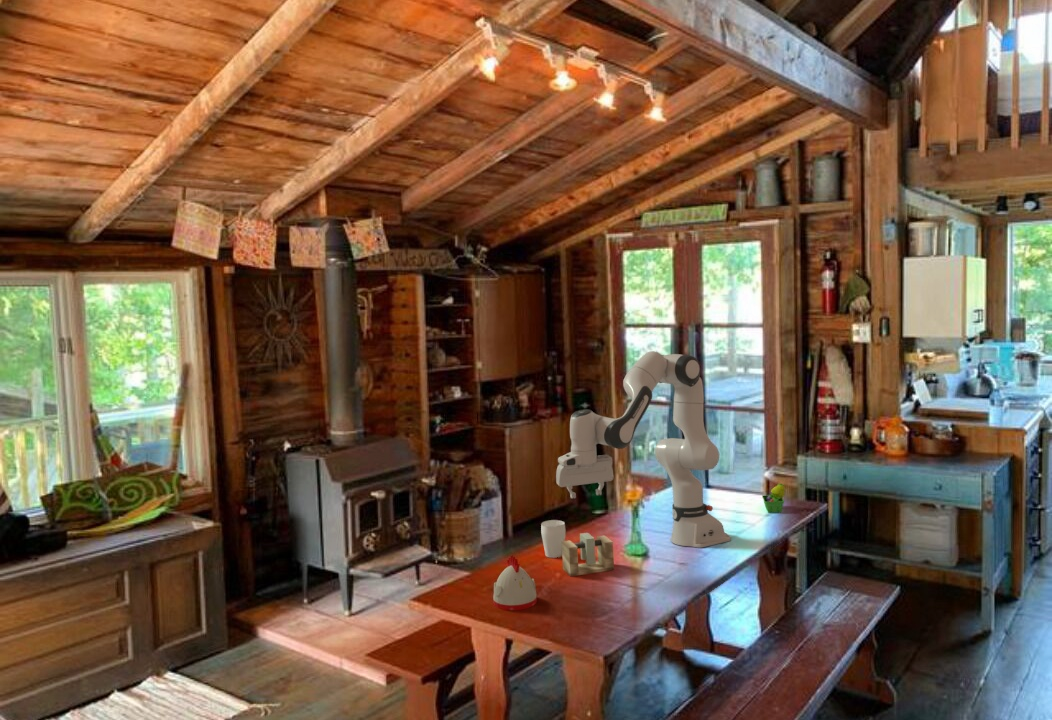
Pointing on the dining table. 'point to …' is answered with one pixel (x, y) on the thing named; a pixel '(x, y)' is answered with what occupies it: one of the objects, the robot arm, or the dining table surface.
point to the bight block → (588, 548)
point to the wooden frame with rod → (574, 568)
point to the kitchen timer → (514, 588)
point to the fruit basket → (775, 499)
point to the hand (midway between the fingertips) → (586, 496)
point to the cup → (553, 537)
